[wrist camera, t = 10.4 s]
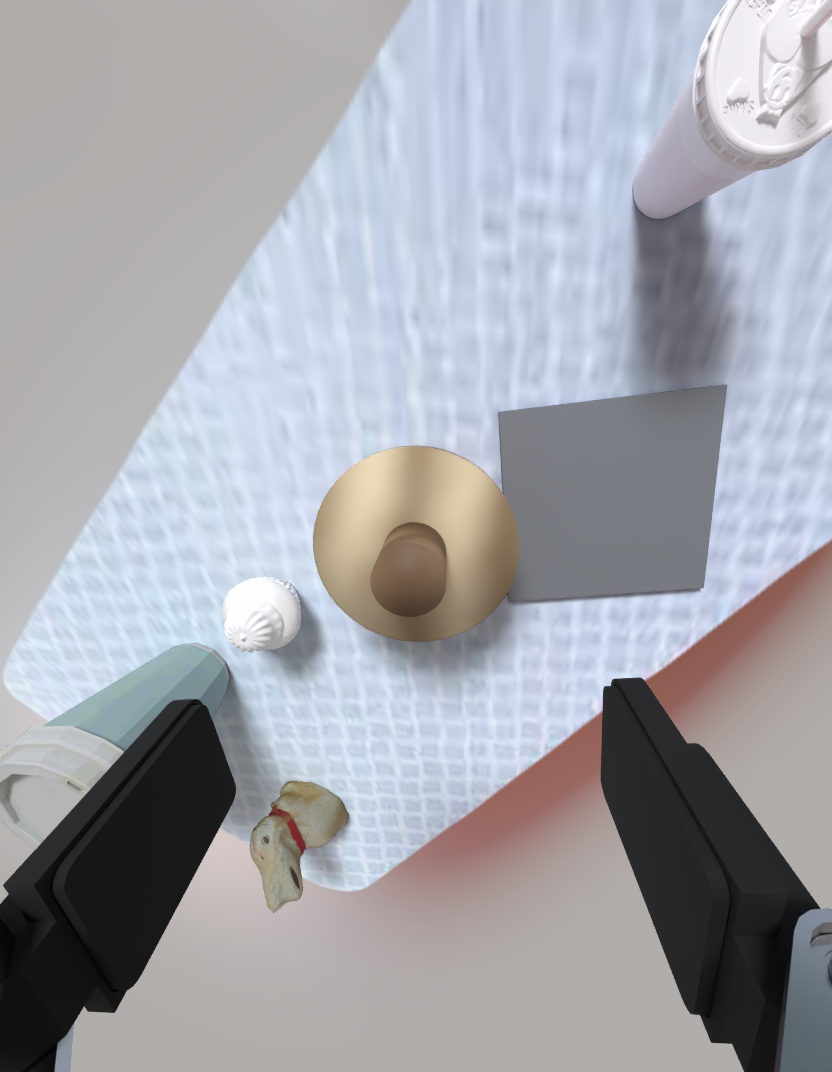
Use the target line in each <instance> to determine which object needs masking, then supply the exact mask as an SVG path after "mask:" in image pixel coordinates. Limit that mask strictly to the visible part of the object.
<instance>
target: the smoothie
mask: <svg viewBox="0 0 832 1072" xmlns="http://www.w3.org/2000/svg"><path fill="white" fill-rule="evenodd" d="M831 132H832V0H728V1H727V2H726V4H725V5H724V7H723V8H722V9H721V11H720V12H719V13H718V15H717V16H716V18H715V19H714V20H713V22H712V24H711V26H710V29H709V31H708V33H707V35H706V37H705V39H704V41H703V43H702V45H701V48H700V51H699V55H698V58H697V62H696V66H695V69H694V70H693V72H692V74H691V76H690V78H689V80H688V82H687V83H686V85H685V87H684V89H683V90H682V92H681V94H680V95H679V97H678V99H677V101H676V102H675V104H674V106H673V108H672V109H671V111H670V113H669V115H668V116H667V118H666V120H665V122H664V123H663V125H662V127H661V129H660V130H659V132H658V134H657V136H656V137H655V139H654V141H653V142H652V144H651V146H650V148H649V149H648V151H647V153H646V155H645V156H644V158H643V160H642V162H641V163H640V165H639V167H638V169H637V171H636V174H635V177H634V181H633V197H634V201H635V203H636V205H637V207H638V209H639V210H640V211H641V212H642V213H643V214H644V215H646V216H648V217H650V218H654V219H663V218H667V217H670V216H672V215H674V214H676V213H678V212H680V211H682V210H684V209H685V208H687V207H689V206H691V205H693V204H695V203H697V202H699V201H700V200H702V199H704V198H706V197H708V196H710V195H712V194H714V193H716V192H717V191H719V190H721V189H723V188H725V187H727V186H729V185H731V184H732V183H734V182H736V181H738V180H740V179H742V178H744V177H746V176H747V175H749V174H751V173H753V172H756V171H760V170H765V169H770V168H775V167H779V166H781V165H783V164H785V163H787V162H790V161H792V160H794V159H796V158H798V157H800V156H802V155H803V154H804V153H805V152H807V151H808V150H809V149H811V148H812V147H813V146H814V145H816V144H817V143H818V142H819V141H821V140H822V139H823V138H824V137H826V136H827V135H828V134H830V133H831Z"/></svg>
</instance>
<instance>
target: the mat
mask: <svg viewBox="0 0 832 1072" xmlns="http://www.w3.org/2000/svg"><path fill="white" fill-rule="evenodd" d="M726 389H727V385H718V386H710V387H702V388H694V389H685V390H677V391H669V392H660V393H652V394H644V395H636V396H627V397H619V398H611V399H602V400H594V401H586V402H577V403H569V404H561V405H553V406H544V407H536V408H528V409H519V410H511V411H503V412H498V415H499V434H500V453H501V471H502V490H503V495H504V497H505V498H506V500H507V501H508V503H509V505H510V507H511V510H512V512H513V514H514V517H515V520H516V524H517V528H518V534H519V542H520V547H519V561H518V567H517V571H516V574H515V577H514V580H513V582H512V584H511V587H510V589H509V591H508V600H509V602H513V601H527V600H541V599H555V598H569V597H583V596H597V595H611V594H625V593H639V592H653V591H667V590H682V589H696V588H704V581H705V572H706V564H707V555H708V546H709V537H710V529H711V520H712V511H713V502H714V494H715V485H716V476H717V467H718V459H719V450H720V441H721V432H722V424H723V415H724V406H725V397H726Z"/></svg>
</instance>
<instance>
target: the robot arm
mask: <svg viewBox="0 0 832 1072" xmlns="http://www.w3.org/2000/svg"><path fill="white" fill-rule="evenodd" d="M601 753H602V754H601V784H602V789H603V793H604V796H605V799H606V802H607V804H608V807H609V809H610V812H611V815H612V817H613V820H614V822H615V825H616V828H617V830H618V833H619V835H620V838H621V841H622V843H623V846H624V848H625V851H626V854H627V856H628V859H629V861H630V864H631V867H632V869H633V872H634V875H635V877H636V880H637V882H638V885H639V888H640V890H641V893H642V895H643V898H644V901H645V903H646V906H647V908H648V911H649V913H650V916H651V919H652V921H653V924H654V927H655V929H656V932H657V934H658V937H659V940H660V942H661V945H662V947H663V950H664V953H665V955H666V958H667V961H668V963H669V966H670V968H671V971H672V974H673V976H674V979H675V981H676V984H677V986H678V989H679V992H680V994H681V997H682V999H683V1001H684V1004H685V1006H686V1007H687V1009H688V1011H689V1012H690V1013H691V1014H696V1015H700V1016H701V1018H702V1021H703V1024H704V1026H705V1029H706V1031H707V1033H708V1036H709V1038H710V1041H711V1043H728V1044H729V1043H730V1044H733V1047H734V1049H735V1051H736V1054H737V1056H738V1058H739V1061H740V1063H741V1065H742V1068H743V1070H744V1072H832V909H829V908H825V909H820V907H819V906H818V904H817V903H816V902H815V900H814V899H813V897H812V896H811V895H810V893H809V892H808V891H807V889H806V888H805V886H804V885H803V884H802V882H801V881H800V879H799V878H798V877H797V875H796V874H795V872H794V871H793V870H792V868H791V867H790V865H789V864H788V863H787V861H786V860H785V859H784V857H783V856H782V854H781V853H780V852H779V850H778V849H777V847H776V846H775V845H774V843H773V842H772V841H771V839H770V838H769V837H768V835H767V834H766V832H765V831H764V829H763V828H762V827H761V825H760V824H759V823H758V821H757V820H756V818H755V817H754V815H753V814H752V813H751V811H750V810H749V809H748V807H747V806H746V804H745V803H744V802H743V800H742V799H741V798H740V796H739V795H738V793H737V792H736V790H735V789H734V788H733V786H732V785H731V784H730V782H729V781H728V779H727V778H726V777H725V775H724V774H723V772H722V771H721V770H720V768H719V767H718V765H717V764H716V763H715V761H714V760H713V759H712V757H711V756H710V755H709V753H708V752H707V751H706V750H705V749H704V747H702V746H700V745H699V744H695V743H691V744H687V743H686V741H685V740H684V738H683V737H682V735H681V734H680V732H679V731H678V729H677V728H676V726H675V725H674V723H673V722H672V720H671V719H670V717H669V716H668V715H667V713H666V712H665V710H664V709H663V707H662V706H661V704H660V703H659V701H658V700H657V698H656V697H655V695H654V694H653V692H652V691H651V689H650V688H649V687H648V685H647V684H646V682H645V681H644V680H643V679H642V678H622V679H613V680H612V683H611V686H605V687H604V690H603V717H602V752H601ZM235 793H236V786H235V782H234V779H233V777H232V774H231V771H230V768H229V765H228V763H227V760H226V757H225V754H224V751H223V749H222V746H221V743H220V740H219V737H218V735H217V732H216V729H215V726H214V723H213V721H212V718H211V715H210V712H209V709H208V708H207V706H206V705H203V703H202V702H201V701H200V700H199V699H182V700H173V701H171V702H170V703H169V704H168V705H167V706H166V707H165V708H164V709H163V710H162V711H161V712H160V713H159V714H158V716H157V717H156V718H155V719H154V720H153V721H152V722H151V723H150V724H149V725H148V727H147V728H146V729H145V730H144V731H143V732H142V733H141V734H140V735H139V736H138V738H137V739H136V740H135V741H134V742H133V743H132V744H131V745H130V746H129V747H128V749H127V750H126V751H125V752H124V753H123V754H122V755H121V756H120V757H119V758H118V759H117V761H116V762H115V763H114V764H113V765H112V766H111V767H110V768H109V769H108V770H107V772H106V773H105V774H104V775H103V776H102V777H101V778H100V779H99V780H98V781H97V783H96V784H95V785H94V786H93V787H92V788H91V789H90V790H89V791H88V792H87V794H86V795H85V796H84V797H83V798H82V799H81V800H80V801H79V802H78V803H77V804H76V806H75V807H74V808H73V809H72V810H71V811H70V812H69V813H68V814H67V815H66V817H65V818H64V819H63V820H62V821H61V822H60V823H59V824H58V825H57V826H56V828H55V829H54V830H53V831H52V832H51V833H50V834H49V835H48V836H47V837H46V839H45V840H44V841H43V842H42V843H41V844H40V845H39V846H38V847H37V848H36V850H35V851H34V852H33V853H32V854H31V855H30V856H29V857H28V858H27V860H25V862H24V863H23V864H22V865H21V866H20V867H19V868H18V869H17V870H16V872H15V873H14V874H13V875H12V876H11V877H10V878H9V879H8V880H7V881H6V882H5V884H4V885H3V886H4V888H5V889H6V890H7V892H8V894H9V895H8V896H7V897H6V898H5V899H4V900H3V902H2V903H1V904H0V1072H70V1067H71V1055H72V1042H73V1029H74V1022H75V1020H76V1019H77V1017H78V1015H79V1014H80V1012H81V1010H82V1009H83V1007H84V1006H85V1008H86V1009H87V1011H90V1012H109V1013H114V1012H115V1011H116V1009H117V1008H118V1006H119V1004H120V1002H121V1000H122V998H123V997H124V995H125V993H126V991H127V990H129V989H130V988H131V987H133V986H134V984H135V983H136V982H137V981H138V979H139V978H140V976H141V974H142V972H143V970H144V969H145V967H146V965H147V963H148V961H149V959H150V957H151V955H152V954H153V952H154V950H155V948H156V946H157V944H158V942H159V940H160V939H161V937H162V935H163V933H164V931H165V929H166V927H167V925H168V924H169V921H170V920H171V918H172V916H173V914H174V912H175V910H176V908H177V907H178V905H179V903H180V901H181V899H182V897H183V895H184V893H185V892H186V890H187V888H188V886H189V884H190V882H191V880H192V878H193V876H194V875H195V873H196V871H197V869H198V867H199V865H200V863H201V862H202V859H203V858H204V856H205V854H206V852H207V850H208V848H209V846H210V844H211V843H212V841H213V839H214V837H215V835H216V833H217V831H218V830H219V828H220V826H221V824H222V822H223V820H224V818H225V816H226V815H227V813H228V811H229V809H230V807H231V805H232V803H233V801H234V798H235Z"/></svg>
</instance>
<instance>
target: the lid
mask: <svg viewBox="0 0 832 1072" xmlns="http://www.w3.org/2000/svg"><path fill="white" fill-rule="evenodd" d="M519 547H520V542H519V534H518V528H517V524H516V520H515V517H514V514H513V512H512V510H511V507H510V505H509V503H508V501H507V500H506V498H505V497H504V495H503V493H502V492H501V490H500V488H499V487H498V486H497V485H496V484H495V482H494V481H493V480H492V479H491V478H490V477H489V476H488V475H487V474H486V473H485V472H484V471H483V470H482V469H481V468H479V467H478V466H476V465H475V464H473V463H472V462H471V461H469V460H467V459H465V458H463V457H461V456H459V455H457V454H455V453H452V452H449V451H446V450H443V449H438V448H434V447H427V446H401V447H396V448H391V449H387V450H384V451H381V452H378V453H375V454H373V455H371V456H369V457H367V458H365V459H363V460H362V461H360V462H359V463H357V464H356V465H354V466H353V467H351V468H350V469H349V470H348V471H346V472H345V473H344V474H343V475H342V476H341V477H340V478H339V479H338V480H337V481H336V482H335V484H334V485H333V486H332V487H331V488H330V490H329V491H328V493H327V495H326V496H325V498H324V500H323V502H322V504H321V506H320V509H319V511H318V514H317V518H316V521H315V526H314V534H313V551H314V558H315V563H316V567H317V570H318V573H319V576H320V578H321V580H322V583H323V585H324V587H325V588H326V590H327V592H328V593H329V595H330V596H331V598H332V599H333V600H334V602H335V603H336V604H337V605H338V606H339V607H340V608H341V609H342V610H343V611H344V612H345V613H346V614H347V615H348V616H349V617H350V618H352V619H353V620H354V621H356V622H357V623H359V624H360V625H362V626H363V627H365V628H367V629H369V630H371V631H373V632H375V633H377V634H380V635H383V636H386V637H389V638H393V639H398V640H403V641H413V642H424V641H434V640H441V639H445V638H449V637H452V636H455V635H458V634H460V633H463V632H465V631H467V630H469V629H471V628H472V627H474V626H476V625H477V624H479V623H480V622H481V621H483V620H484V619H485V618H487V617H488V616H489V615H490V614H491V613H492V612H493V611H494V610H495V609H496V608H497V607H498V605H499V604H500V603H501V602H502V600H503V599H504V597H505V596H506V594H507V593H508V591H509V589H510V587H511V584H512V582H513V580H514V577H515V574H516V571H517V567H518V561H519Z"/></svg>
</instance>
